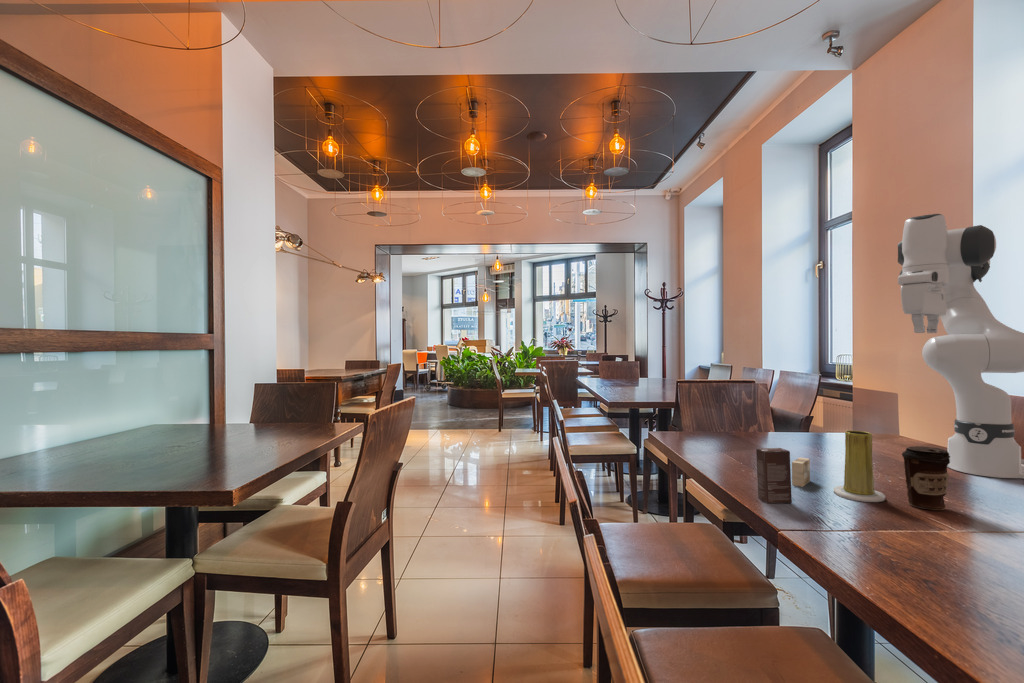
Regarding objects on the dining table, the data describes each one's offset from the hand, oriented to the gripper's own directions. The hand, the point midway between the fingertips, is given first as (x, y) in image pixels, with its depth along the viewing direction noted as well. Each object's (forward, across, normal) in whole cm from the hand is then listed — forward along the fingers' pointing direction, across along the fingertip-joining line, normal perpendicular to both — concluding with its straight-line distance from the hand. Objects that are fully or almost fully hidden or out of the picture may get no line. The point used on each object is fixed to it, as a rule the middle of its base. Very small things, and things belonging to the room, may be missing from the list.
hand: (925, 333), depth 119 cm
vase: (+38, +20, -8) cm, 44 cm away
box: (+39, +40, -18) cm, 59 cm away
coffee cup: (+39, +17, +4) cm, 43 cm away
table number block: (+39, +20, -21) cm, 49 cm away
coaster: (+39, +20, -8) cm, 45 cm away
